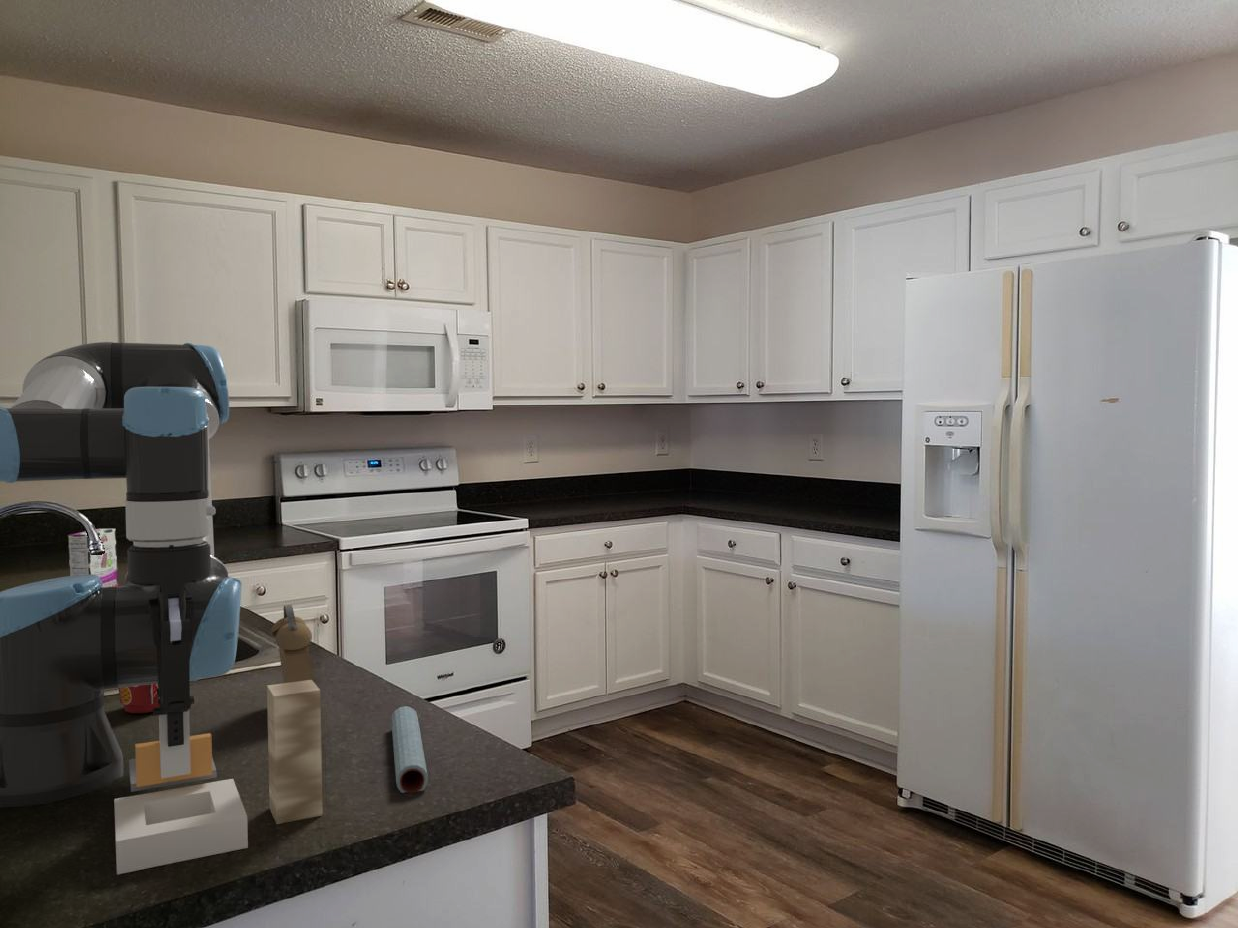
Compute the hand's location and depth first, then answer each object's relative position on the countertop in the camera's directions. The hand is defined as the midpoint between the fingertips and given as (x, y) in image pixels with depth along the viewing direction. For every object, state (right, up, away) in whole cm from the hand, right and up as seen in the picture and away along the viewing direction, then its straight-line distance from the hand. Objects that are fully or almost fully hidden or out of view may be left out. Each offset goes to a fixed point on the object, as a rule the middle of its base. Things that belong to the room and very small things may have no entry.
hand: (175, 773), depth 96 cm
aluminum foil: (+21, -5, +19) cm, 29 cm away
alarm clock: (-1, -4, +37) cm, 37 cm away
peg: (+11, -5, +2) cm, 13 cm away
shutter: (-3, -2, +5) cm, 6 cm away
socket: (+2, -5, -4) cm, 7 cm away
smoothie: (-22, -4, +39) cm, 45 cm away
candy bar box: (-73, 0, +117) cm, 138 cm away
